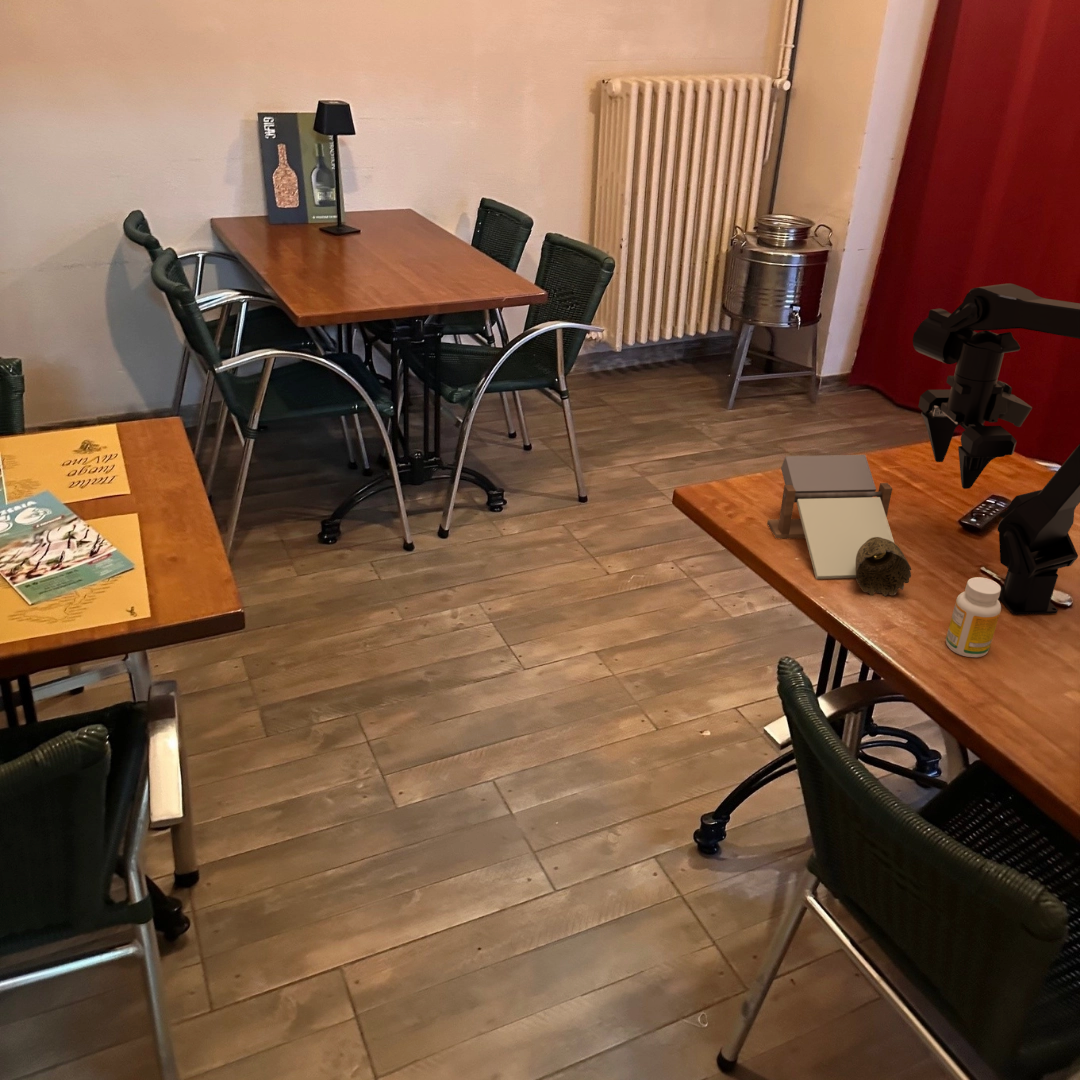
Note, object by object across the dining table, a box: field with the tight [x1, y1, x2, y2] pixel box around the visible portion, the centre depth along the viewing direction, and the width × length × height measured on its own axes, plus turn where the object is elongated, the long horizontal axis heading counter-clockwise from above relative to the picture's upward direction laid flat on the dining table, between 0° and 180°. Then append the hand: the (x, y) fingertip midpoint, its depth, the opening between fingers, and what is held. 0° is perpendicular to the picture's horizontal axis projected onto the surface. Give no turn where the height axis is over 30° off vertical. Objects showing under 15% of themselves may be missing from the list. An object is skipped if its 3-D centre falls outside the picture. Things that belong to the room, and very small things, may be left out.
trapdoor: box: [780, 454, 895, 580], centre depth 151 cm, size 23×13×3 cm, turn 5°
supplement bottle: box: [945, 576, 1002, 658], centre depth 127 cm, size 5×5×10 cm
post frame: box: [766, 482, 893, 540], centre depth 155 cm, size 5×18×8 cm, turn 94°
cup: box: [855, 537, 912, 597], centre depth 141 cm, size 8×7×8 cm
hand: (952, 474), depth 146 cm, fingers open, 9 cm apart
